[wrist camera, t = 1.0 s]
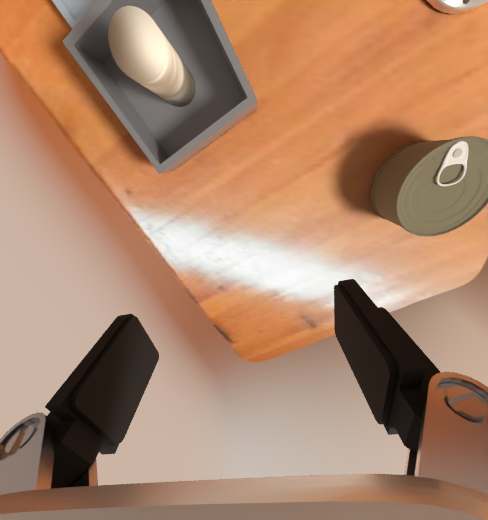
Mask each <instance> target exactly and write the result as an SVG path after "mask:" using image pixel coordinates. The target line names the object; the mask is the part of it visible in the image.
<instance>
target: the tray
mask: <svg viewBox="0 0 488 520" xmlns="http://www.w3.org/2000/svg"><path fill="white" fill-rule="evenodd" d="M52 1H53V3H54V4H55V6H56V7H57V8H58V10H59V11H60V13H61V14H62V15H63V17H64V18H65V20H66V21H67V23H68V24H69V25H70V27H71V28H72V29H73V28H74V27H75V26H76V25H77V23H78V22H79V21H80V20H81V19H82V18H83V16H84V15H85V14H86V13H87V12H88V11H89V9H90V8H91V7H92V6H93V5H94V4H95V2H96V1H97V0H52Z"/></svg>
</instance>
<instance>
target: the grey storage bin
mask: <svg viewBox="0 0 488 520" xmlns="http://www.w3.org/2000/svg"><path fill="white" fill-rule="evenodd" d="M125 6H135V7H138V8H140V9H142V10H143V11H145V12H146V13H147V14H148V15H149V16H150V17H151V18H152V19H153V20H154V22H155V23H156V25H157V26H158V27H159V29H160V30H161V32H162V33H163V34H164V36H165V37H166V39H167V40H168V41H169V43H170V44H171V46H172V47H173V48H174V50H175V51H176V53H177V54H178V55H179V57H180V58H181V60H182V61H183V62H184V64H185V65H186V67H187V68H188V69H189V71H190V72H191V74H192V76H193V78H194V81H195V95H194V98H193V100H192V102H191V103H190V104H189V105H187V106H185V107H176V106H174V105H172V104H171V103H169V102H167V101H166V100H164V99H163V98H161V97H160V96H158V95H157V94H155V93H154V92H152V91H150V90H149V89H147V88H146V87H144V86H143V85H141V84H140V83H138V82H136V81H135V80H133V79H132V78H130V77H129V76H127V75H126V74H125V73H124V72H123V71H122V70H121V69H120V68H119V66H118V65H117V63H116V62H115V60H114V58H113V56H112V53H111V50H110V46H109V40H108V30H109V24H110V21H111V18H112V17H113V15H114V14H115V12H116V11H117V10H119V9H120V8H122V7H125ZM62 42H63V44H64V45H65V46H66V48H67V49H68V50H69V52H70V53H71V55H72V56H73V57H74V59H75V60H76V61H77V63H78V64H79V65H80V67H81V68H82V69H83V71H84V72H85V74H86V75H87V76H88V78H89V79H90V80H91V82H92V83H93V84H94V86H95V87H96V89H97V90H98V91H99V93H100V94H101V95H102V97H103V98H104V99H105V101H106V102H107V103H108V105H109V106H110V108H111V109H112V110H113V112H114V113H115V114H116V116H117V117H118V118H119V120H120V121H121V122H122V124H123V125H124V127H125V128H126V129H127V131H128V132H129V133H130V135H131V136H132V137H133V139H134V140H135V142H136V143H137V144H138V146H139V147H140V148H141V150H142V151H143V152H144V154H145V155H146V156H147V158H148V159H149V161H150V162H151V163H152V165H153V166H154V167H155V169H156V170H157V171H158V173H159V174H162V173H166V172H171V171H174V170H175V169H177V168H178V167H179V166H181V165H182V164H183V163H185V162H186V161H188V160H189V159H190V158H192V157H193V156H194V155H196V154H197V153H198V152H200V151H201V150H202V149H204V148H205V147H206V146H208V145H209V144H211V143H212V142H213V141H215V140H216V139H217V138H219V137H220V136H221V135H223V134H224V133H225V132H227V131H228V130H229V129H231V128H232V127H234V126H235V125H236V124H238V123H239V122H240V121H242V120H243V119H244V118H246V117H247V116H248V115H250V114H251V113H253V112H254V111H255V110H256V106H257V99H256V96H255V94H254V92H253V90H252V88H251V86H250V84H249V81H248V79H247V77H246V75H245V73H244V71H243V68H242V66H241V64H240V62H239V60H238V58H237V55H236V53H235V51H234V49H233V47H232V45H231V43H230V40H229V38H228V36H227V34H226V32H225V30H224V27H223V25H222V23H221V21H220V19H219V17H218V15H217V12H216V10H215V8H214V6H213V4H212V2H211V0H97V1H96V2H95V4H94V5H93V6H92V7H91V8H90V9H89V11H88V12H87V13H86V14H85V15H84V16H83V18H82V19H81V20H80V21H79V22H78V23H77V25H76V26H75V27H74V28H73V29H72V30H71V32H70V33H69V34H68V35H67V36H66V37H65V39H64V40H63V41H62Z"/></svg>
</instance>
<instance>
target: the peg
mask: <svg viewBox="0 0 488 520" xmlns="http://www.w3.org/2000/svg"><path fill="white" fill-rule="evenodd" d="M108 40H109V46H110V50H111V53H112V56H113V58H114V60H115V62H116V63H117V65H118V66H119V68H120V69H121V70H122V71H123V72H124V73H125V74H126V75H127V76H129V77H130V78H132V79H133V80H135V81H136V82H138V83H140V84H141V85H143V86H144V87H146V88H147V89H149V90H150V91H152V92H154V93H155V94H157V95H158V96H160V97H161V98H163V99H164V100H166V101H167V102H169V103H171V104H172V105H174V106H176V107H185V106H187V105H189V104H190V103H191V102H192V100H193V98H194V95H195V81H194V78H193V76H192V74H191V72H190V71H189V69H188V68H187V67H186V65H185V64H184V62H183V61H182V60H181V58H180V57H179V55H178V54H177V53H176V51H175V50H174V48H173V47H172V46H171V44H170V43H169V41H168V40H167V39H166V37H165V36H164V34H163V33H162V32H161V30H160V29H159V27H158V26H157V25H156V23H155V22H154V20H153V19H152V18H151V17H150V16H149V15H148V14H147V13H146V12H145V11H143V10H142V9H140V8H138V7H135V6H125V7H122V8H120V9H119V10H117V11H116V12H115V14H114V15H113V17H112V18H111V21H110V24H109V30H108Z"/></svg>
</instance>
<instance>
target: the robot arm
mask: <svg viewBox="0 0 488 520" xmlns="http://www.w3.org/2000/svg"><path fill="white" fill-rule="evenodd" d="M427 1H428V2H429V3H430V4H431V5H432V6H433V7H434V8H435V9H437V10H439V11H441V12H443V13H449V14H459V13H465V12H468V11H471V10H474V9H477V8H478V7H480V6H482V5H484V4H486V3H487V2H488V0H427ZM334 312H335V334H336V337H337V339H338V341H339V343H340V345H341V348H342V350H343V352H344V354H345V356H346V358H347V360H348V362H349V364H350V367H351V369H352V371H353V373H354V375H355V377H356V379H357V381H358V384H359V386H360V388H361V390H362V392H363V394H364V396H365V398H366V400H367V402H368V405H369V407H370V409H371V411H372V413H373V415H374V417H375V419H376V421H377V422H378V424H384V427H385V428H386V431H387V432H388V434H389V435H390V434H399V436H400V438H401V440H402V442H403V444H404V446H406V447H407V448H409V449H408V456H407V462H406V468H405V474H404V475H389V474H387V475H386V474H355V475H353V474H352V475H311V476H287V477H265V478H243V479H242V478H241V479H220V480H199V481H178V482H159V483H138V484H121V485H102V486H98V482H97V481H98V480H97V465H96V457H97V454H98V453H99V452H100V453H101V454H114V453H115V452H116V450H117V447H118V445H119V443H121V442H122V440H123V439H124V437H125V434H126V432H127V430H128V428H129V426H130V423H131V421H132V419H133V417H134V414H135V412H136V410H137V407H138V405H139V403H140V401H141V398H142V396H143V394H144V391H145V389H146V387H147V385H148V382H149V380H150V378H151V376H152V373H153V371H154V369H155V366H156V364H157V362H158V359H159V354H158V351H157V349H156V348H155V346H154V345H153V343H152V341H151V340H150V338H149V336H148V335H147V333H146V331H145V330H144V328H143V326H142V325H141V323H140V321H139V320H138V318H137V317H135V316H134V315H132V314H127V315H121V316H118V317H117V318H116V319H115V320H114V321H113V323H112V324H111V325H110V327H109V328H108V329H107V330H106V331H105V333H104V334H103V335H102V337H101V338H100V339H99V340H98V341H97V343H96V344H95V345H94V346H93V348H92V349H91V350H90V351H89V353H88V354H87V355H86V356H85V358H84V359H83V360H82V361H81V362H80V364H79V365H78V366H77V368H76V369H75V370H74V371H73V372H72V374H71V375H70V376H69V377H68V379H67V380H66V381H65V382H64V384H63V385H62V386H61V387H60V389H59V390H58V391H57V392H56V394H55V395H54V396H53V397H52V399H51V400H50V401H49V402H48V403H47V405H46V406H45V407H46V408H47V409H48V410H49V411H50V413H49V414H48V416H46V415H44V414H43V413H35V414H32V415H30V416H28V417H26V418H24V419H22V420H21V421H20V422H18V423H17V424H15V425H14V426H13V427H12V428H11V429H10V430H9V431H7V432H6V433H5V434H4V436H3V437H2V438H1V439H0V520H488V387H487V386H485V385H484V384H482V383H481V382H479V381H477V380H474V379H472V378H470V377H468V376H465V375H462V374H458V373H453V372H442V373H441V372H440V371H439V370H438V369H437V368H436V366H435V365H434V364H433V363H432V362H431V361H430V359H429V358H428V357H427V356H426V355H425V354H424V353H423V351H422V350H421V349H420V348H419V347H418V346H417V345H416V344H415V342H414V341H413V340H412V339H411V338H410V337H409V336H408V334H407V333H406V332H405V331H404V330H403V328H402V327H401V326H400V325H399V324H398V323H397V322H396V320H395V319H394V318H393V317H392V316H391V315H390V314H389V312H388V311H387V310H386V309H384V308H382V307H380V308H377V306H376V305H375V304H374V303H373V302H372V300H371V299H370V298H369V297H368V295H367V294H366V293H365V292H364V291H363V289H362V288H361V287H360V286H359V285H358V283H357V282H356V281H355V280H354V279H350V280H344V281H339V283H338V285H335V286H334Z"/></svg>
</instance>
